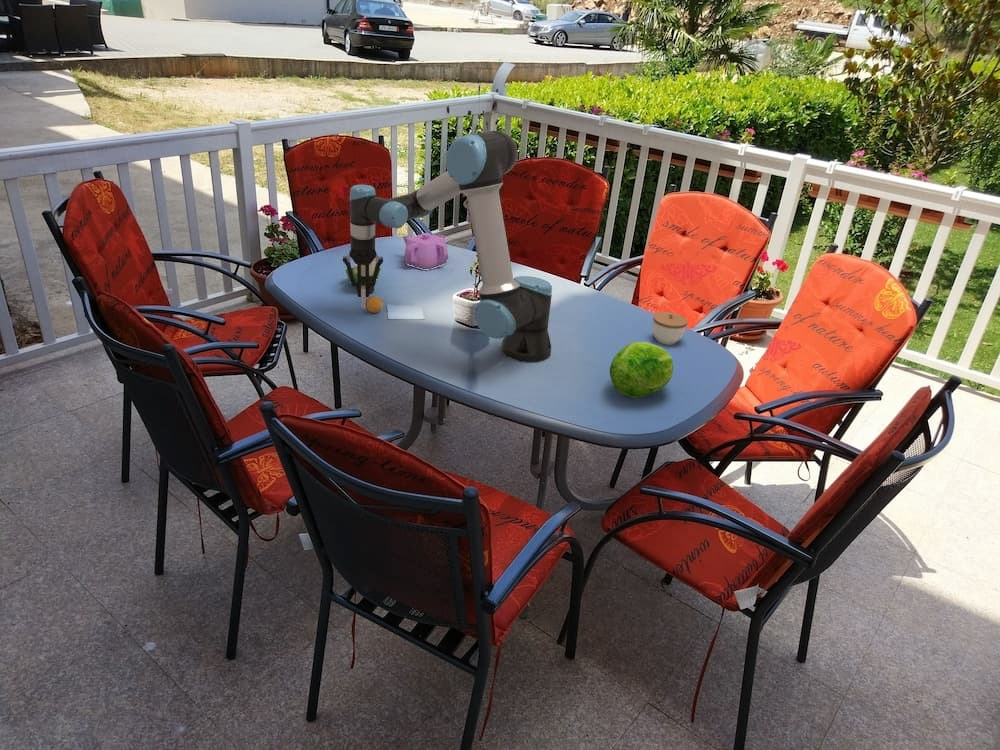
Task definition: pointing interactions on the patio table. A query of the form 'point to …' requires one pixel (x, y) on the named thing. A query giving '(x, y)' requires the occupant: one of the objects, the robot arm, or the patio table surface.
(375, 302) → the ball
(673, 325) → the lidded jar
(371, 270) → the character mug
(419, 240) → the pink squat rounded shape
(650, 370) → the lettuce
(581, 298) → the patio table surface
